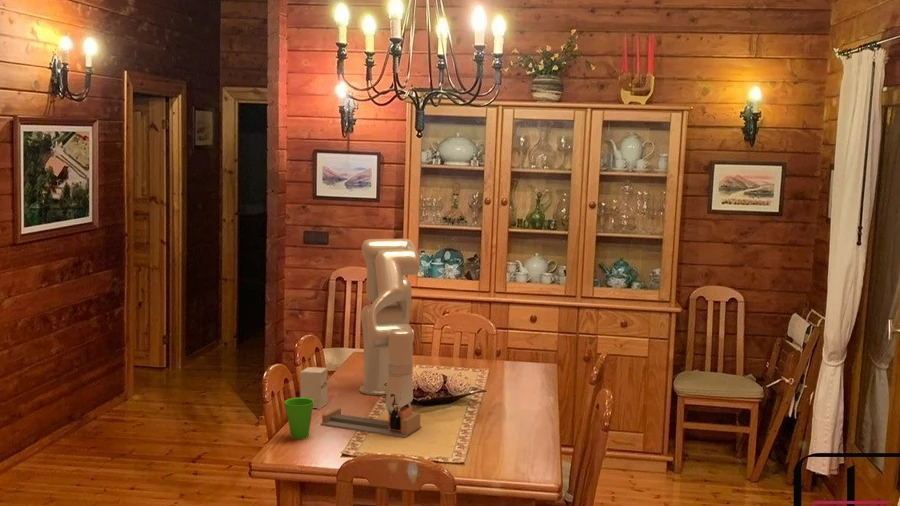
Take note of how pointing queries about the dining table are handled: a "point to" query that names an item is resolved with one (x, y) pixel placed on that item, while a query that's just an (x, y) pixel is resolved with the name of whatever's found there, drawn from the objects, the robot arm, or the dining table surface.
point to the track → (371, 423)
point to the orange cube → (402, 415)
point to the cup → (299, 416)
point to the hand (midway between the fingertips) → (400, 425)
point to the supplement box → (314, 385)
